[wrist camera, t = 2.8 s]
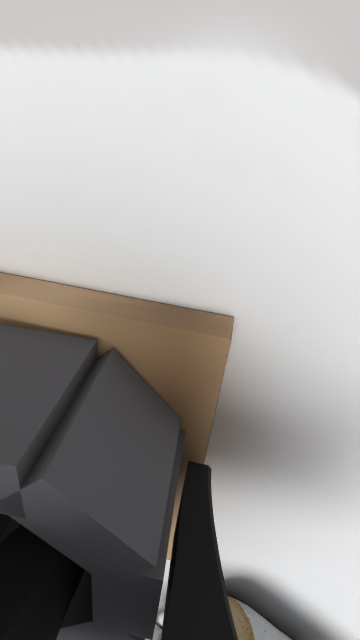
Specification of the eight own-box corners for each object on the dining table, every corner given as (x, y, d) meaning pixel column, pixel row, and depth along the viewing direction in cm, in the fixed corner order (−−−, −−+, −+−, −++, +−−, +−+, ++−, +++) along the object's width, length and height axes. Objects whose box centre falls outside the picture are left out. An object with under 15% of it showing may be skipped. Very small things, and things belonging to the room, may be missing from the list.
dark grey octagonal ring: (-41, 493, 14) (-133, 616, 10) (-103, 306, 9) (-296, 407, 6) (167, 534, 13) (145, 678, 10) (197, 356, 9) (178, 497, 6)
